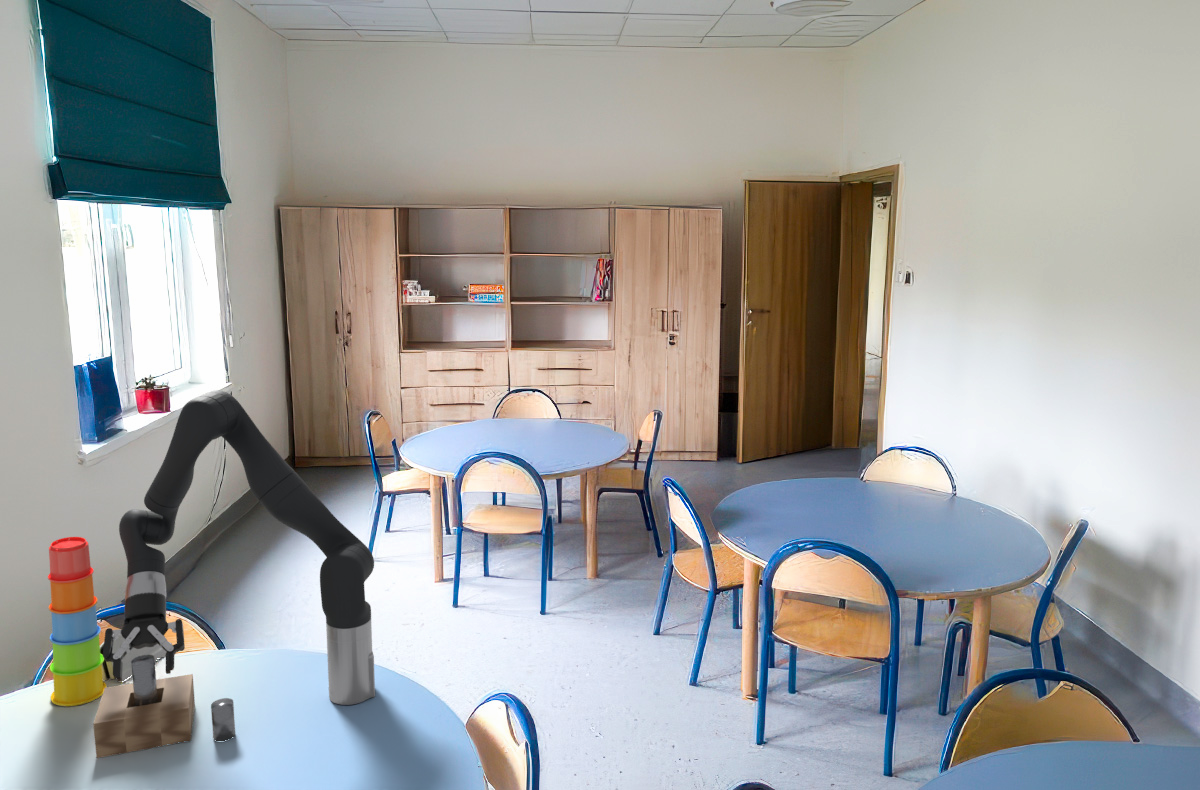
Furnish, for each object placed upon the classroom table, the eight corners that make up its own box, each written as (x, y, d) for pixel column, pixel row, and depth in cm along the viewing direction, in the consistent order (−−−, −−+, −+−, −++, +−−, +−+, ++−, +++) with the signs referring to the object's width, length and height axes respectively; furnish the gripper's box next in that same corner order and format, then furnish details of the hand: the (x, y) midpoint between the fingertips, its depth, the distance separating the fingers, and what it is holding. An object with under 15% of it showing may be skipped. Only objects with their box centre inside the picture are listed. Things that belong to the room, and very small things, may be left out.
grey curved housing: (121, 684, 186) (104, 641, 185) (104, 687, 187) (88, 646, 186) (175, 649, 202) (160, 610, 201) (160, 653, 203) (145, 614, 202)
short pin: (235, 728, 170) (233, 696, 168) (235, 739, 166) (233, 706, 165) (213, 732, 168) (211, 700, 167) (212, 743, 165) (210, 710, 163)
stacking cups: (111, 679, 188) (98, 529, 182) (101, 703, 178) (86, 545, 172) (58, 686, 184) (43, 534, 178) (44, 710, 175) (27, 550, 169)
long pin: (160, 722, 171) (155, 653, 169) (158, 733, 168) (153, 662, 165) (138, 726, 170) (132, 656, 167) (135, 737, 166) (130, 666, 164)
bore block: (194, 704, 178) (192, 673, 177) (190, 740, 165) (188, 707, 164) (107, 719, 172) (104, 687, 171) (96, 758, 159) (93, 723, 158)
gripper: (103, 596, 169) (99, 676, 161) (182, 586, 175) (182, 663, 166) (109, 610, 175) (105, 688, 167) (185, 600, 181) (185, 676, 172)
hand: (143, 676), depth 167 cm, fingers open, 8 cm apart
